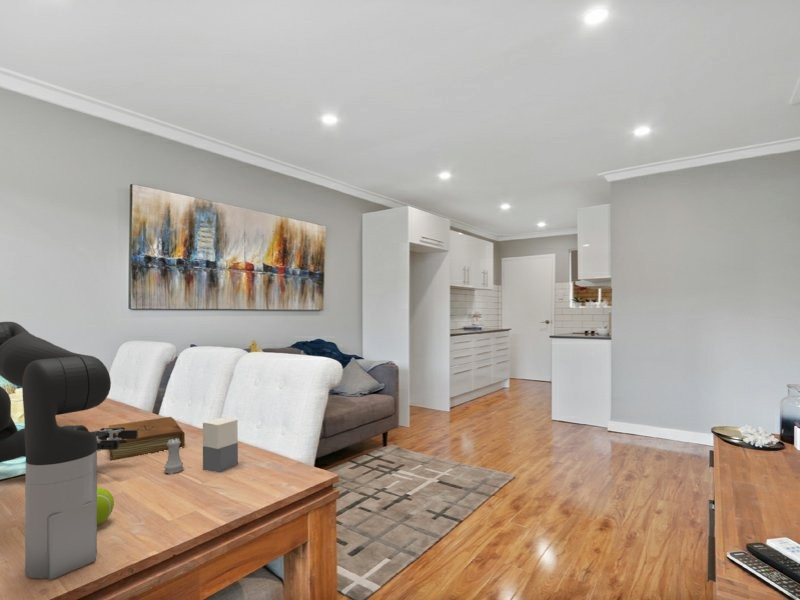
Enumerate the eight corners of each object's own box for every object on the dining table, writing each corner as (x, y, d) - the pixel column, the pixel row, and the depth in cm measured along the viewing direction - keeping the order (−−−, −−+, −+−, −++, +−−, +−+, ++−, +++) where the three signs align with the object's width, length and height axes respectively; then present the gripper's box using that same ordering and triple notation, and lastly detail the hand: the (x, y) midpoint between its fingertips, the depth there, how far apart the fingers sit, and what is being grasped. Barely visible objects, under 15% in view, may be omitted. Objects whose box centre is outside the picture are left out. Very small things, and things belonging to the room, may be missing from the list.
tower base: (237, 464, 115) (237, 441, 115) (220, 472, 109) (220, 448, 109) (220, 462, 117) (220, 439, 117) (202, 469, 111) (202, 446, 111)
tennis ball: (117, 525, 82) (117, 488, 83) (72, 539, 77) (72, 500, 78) (109, 513, 87) (109, 478, 88) (66, 526, 82) (66, 489, 83)
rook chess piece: (175, 474, 108) (175, 442, 108) (159, 473, 109) (159, 441, 109) (187, 468, 112) (187, 437, 113) (172, 467, 113) (172, 436, 114)
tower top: (237, 442, 114) (237, 419, 114) (218, 449, 109) (217, 425, 109) (222, 439, 117) (222, 417, 117) (202, 445, 112) (202, 422, 112)
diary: (184, 449, 130) (184, 430, 131) (110, 463, 120) (110, 442, 120) (173, 432, 149) (173, 415, 149) (108, 442, 139) (108, 424, 139)
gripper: (40, 434, 102) (111, 432, 103) (80, 418, 116) (142, 417, 117) (39, 466, 102) (111, 463, 103) (79, 446, 116) (142, 445, 117)
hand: (128, 439), depth 110 cm, fingers open, 8 cm apart
